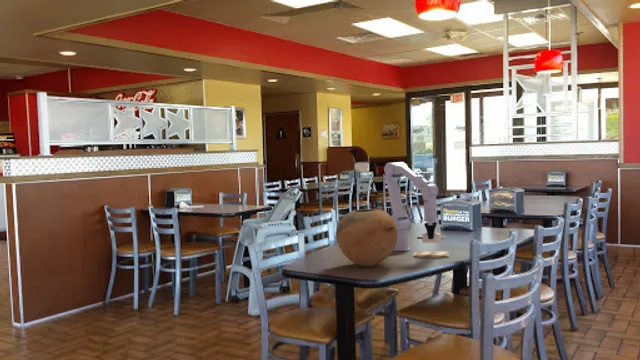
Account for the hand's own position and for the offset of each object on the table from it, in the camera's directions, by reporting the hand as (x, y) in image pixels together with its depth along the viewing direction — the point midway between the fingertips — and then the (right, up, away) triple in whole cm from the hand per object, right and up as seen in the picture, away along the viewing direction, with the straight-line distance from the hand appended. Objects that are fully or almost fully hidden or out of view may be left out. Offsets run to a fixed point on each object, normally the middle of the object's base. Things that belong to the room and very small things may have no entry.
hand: (431, 238), depth 264 cm
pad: (0, -8, 0) cm, 8 cm away
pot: (-31, -10, -18) cm, 38 cm away
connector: (0, -2, 0) cm, 2 cm away
